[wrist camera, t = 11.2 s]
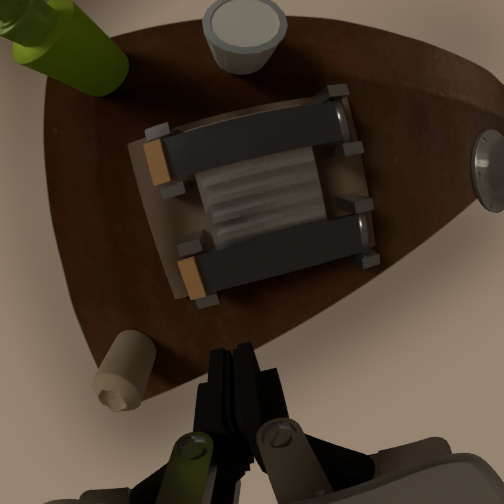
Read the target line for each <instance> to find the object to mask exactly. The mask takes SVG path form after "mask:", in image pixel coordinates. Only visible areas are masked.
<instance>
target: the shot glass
mask: <svg viewBox="0 0 504 504" xmlns="http://www.w3.org/2000/svg"><path fill="white" fill-rule="evenodd" d="M202 22H203V30H204V34H205V36H206V39H207V41H208V44H209V46H210V49H211V51H212V54H213V56H214V59H215V61H216V62H217V63H218V65H219V66H220V68H222V69H224V70H225V71H227V72H229V73H232V74H237V75H245V74H251V73H253V72H256V71H258V70H260V69H261V68H262V67H263V66H264V65H265V63H266V62H267V61H268V59H269V58H270V56H271V55H272V53H273V52H274V51H275V49H276V48H277V46H278V45H279V43H280V42H281V41H282V39H283V38H284V36H285V32H286V29H287V26H288V25H287V21H286V17H285V14H284V12H283V11H282V10H281V9H280V8H279V7H278V6H277V4H276V3H274V2H272V1H271V0H217V1H216V2H215V3H214V4H212V5H211V6H210V7H209V8H208V9H207V11H206V13H205V15H204V18H203V20H202Z"/></svg>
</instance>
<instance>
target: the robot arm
mask: <svg viewBox="0 0 504 504" xmlns="http://www.w3.org/2000/svg"><path fill="white" fill-rule="evenodd" d="M471 172H472V180H473V186H474V189H475V193H476V195H477V198H478V200H479V201H480V203H481V205H482V206H483V207H484V208H485V209H486V210H488V211H491V212H495V213H498V212H501V211H502V210H504V137H503V136H502V135H501V134H500V133H499V132H497V131H496V130H484V131H482V132H481V133H480V134H479V135H478V137H477V138H476V141H475V143H474V146H473V151H472V158H471ZM254 457H255V459H256V461H257V463H258V464H259V466H260V468H261V470H262V471H263V472H265V473H266V474H268V477H269V480H270V483H271V485H272V488H273V491H274V494H275V496H276V499H277V502H278V504H504V482H503V481H502V480H501V478H500V477H499V476H498V475H497V473H496V472H495V471H494V470H493V468H492V467H491V466H490V465H489V464H488V463H487V462H486V461H485V460H483V459H482V458H481V457H479V456H477V455H474V454H471V453H456V454H452V452H451V449H450V446H449V444H448V442H447V441H446V440H444V439H443V438H440V437H430V438H427V439H424V440H420V441H417V442H413V443H409V444H406V445H402V446H398V447H394V448H389V449H385V450H380V451H378V453H376V454H371V455H365V454H363V453H360V452H357V451H353V450H350V449H347V448H344V447H341V446H338V445H334V444H332V443H329V442H326V441H323V440H320V439H318V438H315V437H312V436H310V435H307V434H304V433H303V431H302V428H301V427H300V425H299V424H298V423H297V422H296V421H294V420H292V419H289V415H288V411H287V406H286V403H285V398H284V394H283V390H282V386H281V382H280V379H279V375H278V371H277V368H273V369H269V370H265V371H260V368H259V365H258V362H257V359H256V356H255V353H254V349H253V346H252V343H251V342H247V343H243V344H238V345H237V348H236V349H233V357H232V354H231V352H230V350H227V351H225V349H224V348H220V349H215V350H211V351H210V359H209V371H208V382H206V383H200V384H199V386H198V390H197V399H196V408H195V417H194V427H193V432H191V433H188V434H185V435H183V436H182V437H180V438H179V439H178V440H177V441H176V443H175V445H174V447H173V450H172V453H171V456H170V459H169V462H168V463H167V464H165V465H164V466H163V467H161V468H160V469H159V470H157V471H156V472H154V473H153V474H152V475H150V476H149V477H148V478H146V479H145V480H143V481H142V482H140V483H139V484H137V485H136V486H135V487H134V488H133V489H130V488H128V487H126V488H115V489H101V490H88V491H86V492H84V493H83V494H82V495H81V496H80V499H79V500H77V499H60V500H53V501H50V502H47V503H44V504H238V503H239V495H240V487H241V481H240V479H241V478H242V477H243V476H244V475H245V471H250V464H251V463H254Z"/></svg>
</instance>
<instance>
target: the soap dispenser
mask: <svg viewBox="0 0 504 504" xmlns="http://www.w3.org/2000/svg"><path fill="white" fill-rule="evenodd" d="M0 36H2V37H5V38H7V39H9V40H11V41H13V42H14V43H13V48H12V55H13V58H14V60H15V61H16V62H17V63H19V64H21V65H23V66H26V67H29V68H31V69H33V70H36V71H38V72H40V73H43V74H45V75H47V76H50V77H52V78H54V79H56V80H59V81H61V82H63V83H65V84H67V85H70V86H72V87H74V88H76V89H78V90H80V91H83V92H85V93H87V94H89V95H91V96H94V97H101V96H105V95H108V94H110V93H112V92H113V91H115V90H116V89H117V88H118V87H119V86H120V85H121V84H122V83H123V81H124V80H125V78H126V76H127V74H128V70H129V60H128V58H127V56H126V55H125V54H124V52H123V51H122V50H121V49H120V48H119V47H118V46H117V45H116V44H115V43H114V42H113V41H112V40H111V39H110V38H109V37H108V36H107V35H106V34H105V33H104V32H103V31H102V30H101V29H100V28H99V27H98V26H97V25H96V24H95V23H94V22H93V21H92V20H91V19H90V18H89V17H88V16H87V15H86V14H85V13H84V12H83V11H82V10H81V9H80V8H79V7H78V6H77V5H76V4H75V3H74V2H73V1H72V0H50V1H48V2H45V1H44V0H0Z"/></svg>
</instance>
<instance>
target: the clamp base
mask: <svg viewBox="0 0 504 504" xmlns="http://www.w3.org/2000/svg"><path fill="white" fill-rule="evenodd" d="M348 95H350V94H349V91H348V88H347V84H338V85H327V86H326V87H324V88H323V89H322V90H321V91H320V92H318V93H317V94H316V95H315V96H313V97H309V98H301V99H295V100H288V101H282V102H276V103H271V104H266V105H260V106H255V107H251V108H246V109H241V110H237V111H233V112H229V113H225V114H221V115H217V116H213V117H209V118H205V119H202V120H198V121H195V122H191V123H188V124H185V125H181V126H178V127H175V128H174V127H173V126H172V125H171V124H169V123H168V122H166V123H163V124H160V125H157V126H154V127H152V128H149V129H146V130H145V134H146V138H143V139H140V140H138V141H135V142H132V143H130V144H127V145H128V149H129V153H130V157H131V161H132V165H133V169H134V173H135V177H136V181H137V184H138V188H139V191H140V195H141V198H142V202H143V205H144V209H145V212H146V215H147V219H148V222H149V225H150V228H151V231H152V235H153V238H154V241H155V244H156V247H157V250H158V253H159V256H160V259H161V261H162V264H163V267H164V270H165V273H166V276H167V278H168V281H169V284H170V286H171V289H172V292H173V294H174V297H175V299H179V298H183V297H187V296H189V294H188V291H187V289H186V286H185V283H184V280H183V277H182V274H181V272H180V269H179V266H178V261H179V259H180V258H181V257H185V256H188V255H192V254H196V253H200V252H203V251H207V250H211V249H215V248H218V247H222V246H226V245H230V244H234V243H237V242H241V241H245V240H249V239H253V238H257V237H261V236H264V235H268V234H272V233H276V232H280V231H284V230H288V229H292V228H296V227H300V226H304V225H308V224H312V223H316V222H319V221H323V220H328V219H332V218H336V217H340V216H344V215H348V214H352V213H355V214H357V213H361V212H365V211H366V218H367V225H368V233H369V241H370V247H373V246H375V238H374V229H373V221H372V214H371V210H373V209H374V205H373V199H372V198H371V197H369V194H368V188H367V182H366V177H365V171H364V166H363V161H362V156H361V153H364V150H363V145H362V141H358V138H357V134H356V130H355V125H354V121H353V118H352V114H351V110H350V106H349V103H348V99H347V96H348ZM333 98H341V99H342V103H343V106H344V110H345V114H346V117H347V121H348V125H349V129H350V133H351V138H352V142H350V143H344V144H340V141H338V142H332V143H326V144H320V145H315V146H309V147H304V148H299V149H294V150H289V151H284V152H279V153H275V154H270V155H266V156H261V157H257V158H253V159H249V160H244V161H240V162H236V163H233V164H229V165H225V166H221V167H217V168H214V169H210V170H206V171H203V172H199V173H196V174H193V175H189V176H186V177H183V178H179V179H176V180H173V181H170V182H167V183H163V184H160V185H157V186H154V185H153V181H152V177H151V174H150V170H149V166H148V162H147V158H146V154H145V150H144V146H143V144H146V143H149V142H152V141H155V140H157V139H161V140H162V139H165V138H168V137H171V136H174V135H177V134H180V133H183V132H187V131H190V130H193V129H197V128H200V127H204V126H207V125H211V124H215V123H218V122H222V121H226V120H230V119H235V118H239V117H243V116H248V115H252V114H257V113H262V112H267V111H272V110H277V109H283V108H289V107H295V106H301V105H308V104H315V103H323V102H329V100H330V99H333ZM370 250H371V252H370V253H368V254H360V253H357V254H353V255H350V256H347V257H348V258H350V259H351V260H352V261H353V262H355V263H356V264H357V265H358V266H360V267H361V268H362V269H365V268H369V267H372V266H375V265H378V264H380V257H379V253H377V252H376V251H374V250H372V249H371V248H370ZM220 291H221V290H219V291H215V292H211V293H207V294H206V297H202V298H198V299H195V301H196V303H197V306H198V309H200V308H204V307H208V306H212V305H216V304H220Z"/></svg>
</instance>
